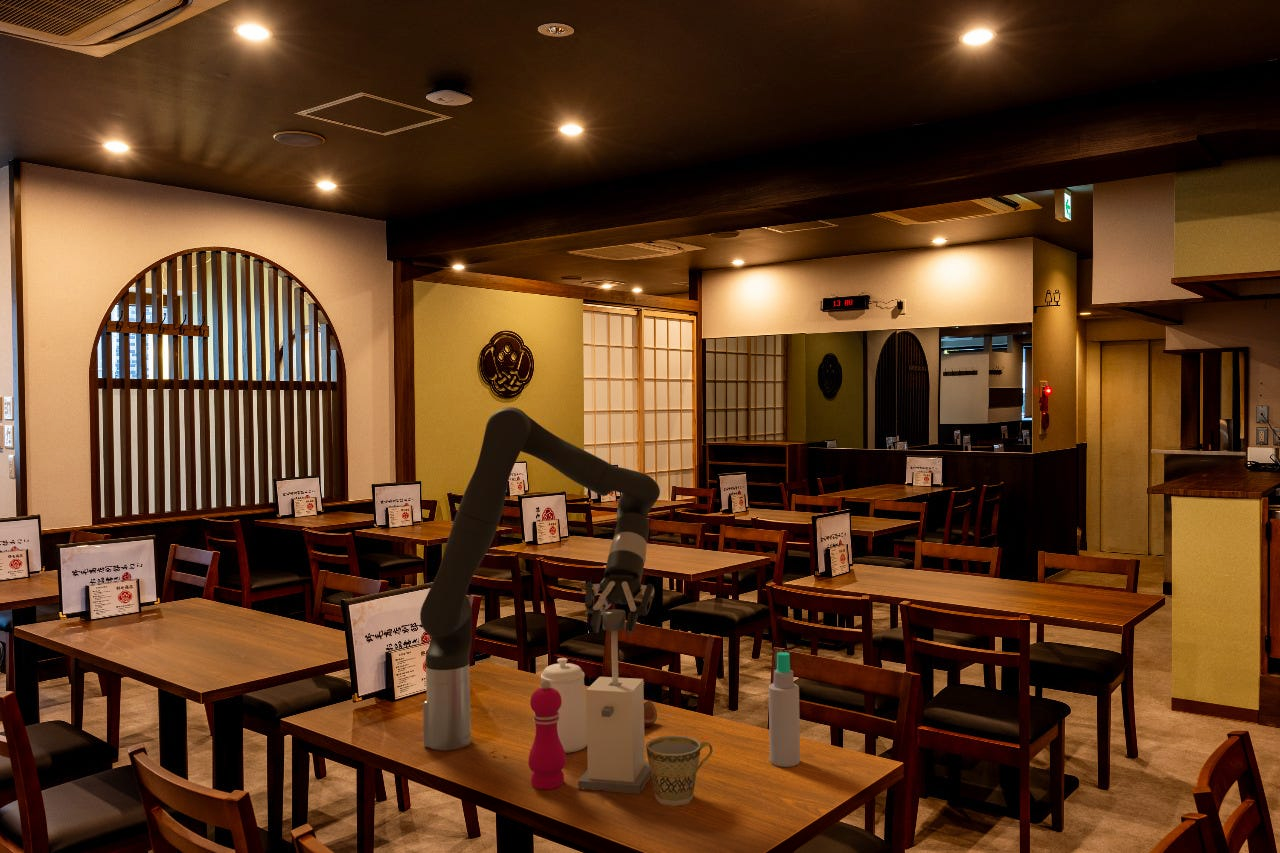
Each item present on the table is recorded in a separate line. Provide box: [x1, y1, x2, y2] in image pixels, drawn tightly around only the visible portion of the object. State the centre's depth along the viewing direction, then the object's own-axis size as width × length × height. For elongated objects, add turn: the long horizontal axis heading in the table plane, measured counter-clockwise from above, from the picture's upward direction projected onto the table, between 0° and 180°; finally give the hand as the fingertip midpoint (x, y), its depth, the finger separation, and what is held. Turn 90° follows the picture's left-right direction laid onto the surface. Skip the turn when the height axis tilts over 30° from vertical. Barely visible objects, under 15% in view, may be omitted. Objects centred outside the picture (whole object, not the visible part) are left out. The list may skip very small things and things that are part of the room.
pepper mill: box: [528, 680, 567, 790], centre depth 182 cm, size 7×7×20 cm
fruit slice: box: [644, 699, 658, 728], centre depth 214 cm, size 8×7×5 cm
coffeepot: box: [540, 657, 587, 754], centre depth 202 cm, size 11×25×19 cm, turn 168°
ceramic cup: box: [645, 735, 713, 807], centre depth 174 cm, size 13×10×10 cm
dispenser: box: [577, 676, 652, 795], centre depth 183 cm, size 12×13×18 cm
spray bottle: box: [768, 651, 801, 768], centre depth 191 cm, size 6×6×22 cm
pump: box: [602, 608, 627, 686], centre depth 183 cm, size 4×4×21 cm
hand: (611, 630), depth 182 cm, fingers open, 6 cm apart
